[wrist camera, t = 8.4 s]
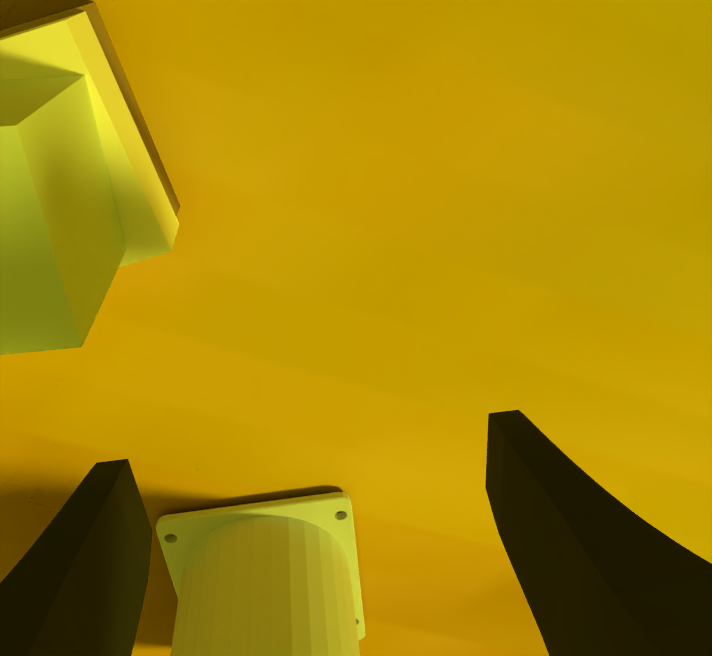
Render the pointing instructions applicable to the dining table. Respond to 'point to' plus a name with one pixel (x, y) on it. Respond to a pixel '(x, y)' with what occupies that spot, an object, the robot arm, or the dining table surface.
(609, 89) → the dining table surface
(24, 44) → the cream slab
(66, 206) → the sage block
